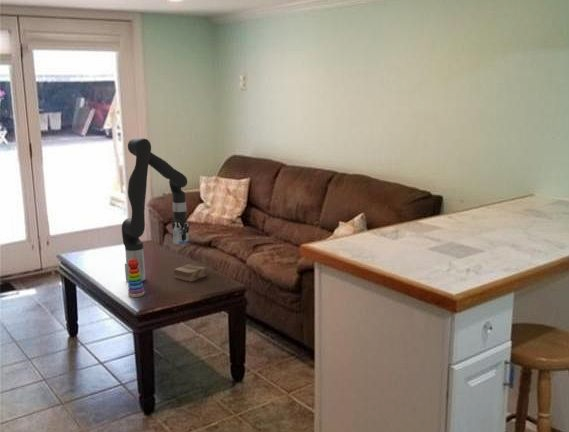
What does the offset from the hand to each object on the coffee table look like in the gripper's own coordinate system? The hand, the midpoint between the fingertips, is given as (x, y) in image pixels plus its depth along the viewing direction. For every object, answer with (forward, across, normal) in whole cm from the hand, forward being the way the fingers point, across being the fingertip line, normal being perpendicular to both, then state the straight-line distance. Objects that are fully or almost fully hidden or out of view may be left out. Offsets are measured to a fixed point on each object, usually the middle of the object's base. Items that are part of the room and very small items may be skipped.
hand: (181, 239), depth 340 cm
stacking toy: (+17, +20, -44) cm, 51 cm away
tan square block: (+17, +18, -8) cm, 26 cm away
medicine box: (+2, 0, 0) cm, 2 cm away
